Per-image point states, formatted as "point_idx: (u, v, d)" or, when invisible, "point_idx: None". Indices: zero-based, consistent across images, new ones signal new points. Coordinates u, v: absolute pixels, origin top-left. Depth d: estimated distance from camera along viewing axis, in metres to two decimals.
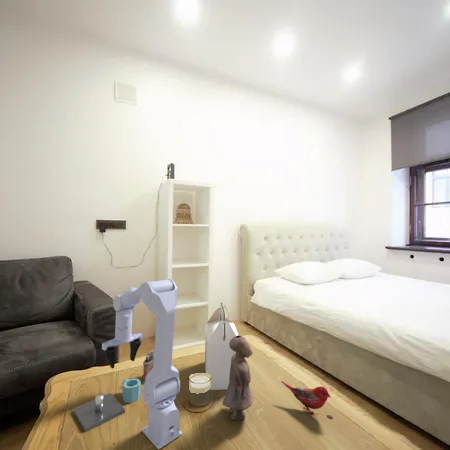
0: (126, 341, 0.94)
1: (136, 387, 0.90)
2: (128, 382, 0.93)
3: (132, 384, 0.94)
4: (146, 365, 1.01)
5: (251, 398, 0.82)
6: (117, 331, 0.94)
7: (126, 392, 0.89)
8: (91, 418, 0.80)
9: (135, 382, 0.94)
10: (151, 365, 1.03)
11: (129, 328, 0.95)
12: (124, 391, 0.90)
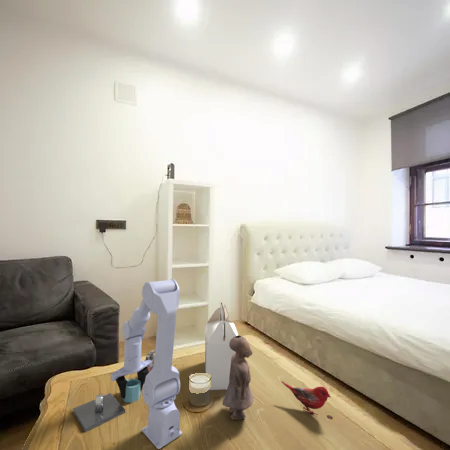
0: (135, 370, 0.90)
1: (136, 387, 0.90)
2: (128, 382, 0.93)
3: (132, 384, 0.94)
4: None
5: (251, 398, 0.82)
6: (126, 360, 0.90)
7: (126, 392, 0.89)
8: (91, 418, 0.80)
9: (135, 382, 0.94)
10: None
11: (139, 356, 0.91)
12: None
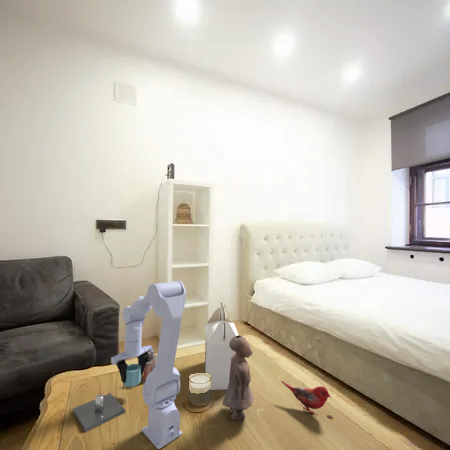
0: (136, 355, 0.90)
1: (137, 371, 0.90)
2: (129, 367, 0.93)
3: (133, 369, 0.94)
4: (146, 365, 1.01)
5: (251, 398, 0.82)
6: (127, 344, 0.90)
7: (127, 376, 0.89)
8: (91, 418, 0.80)
9: (136, 367, 0.94)
10: (151, 365, 1.03)
11: (139, 341, 0.92)
12: None
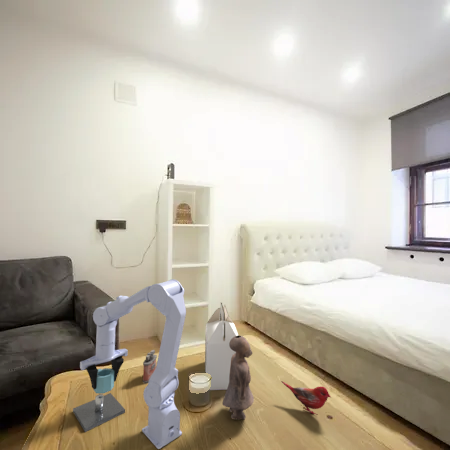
0: (108, 359, 0.83)
1: (108, 377, 0.84)
2: (101, 372, 0.87)
3: (105, 374, 0.87)
4: (146, 365, 1.01)
5: (251, 398, 0.82)
6: (98, 348, 0.83)
7: (97, 382, 0.83)
8: (91, 418, 0.80)
9: (109, 372, 0.87)
10: (151, 365, 1.03)
11: (112, 344, 0.85)
12: None
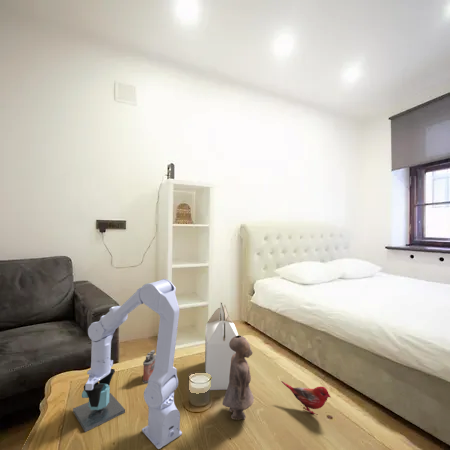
0: (109, 371, 0.84)
1: (108, 389, 0.85)
2: None
3: None
4: (146, 365, 1.01)
5: (251, 398, 0.82)
6: (99, 364, 0.82)
7: None
8: (91, 418, 0.80)
9: None
10: (151, 365, 1.03)
11: None
12: None
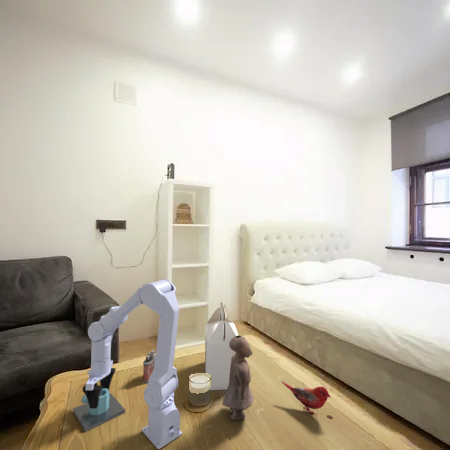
0: (109, 372, 0.84)
1: (108, 394, 0.85)
2: None
3: None
4: (146, 365, 1.01)
5: (251, 398, 0.82)
6: (99, 364, 0.82)
7: (99, 403, 0.82)
8: (91, 418, 0.80)
9: None
10: (151, 365, 1.03)
11: None
12: None
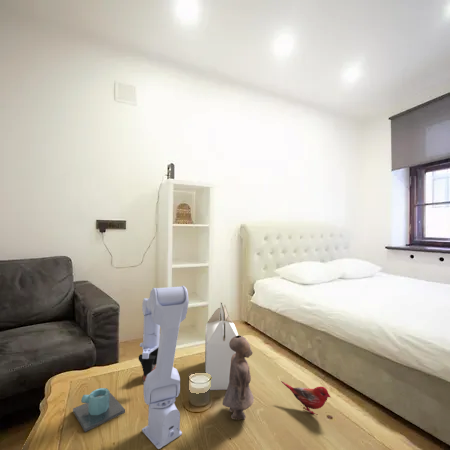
0: (159, 344, 0.93)
1: (108, 394, 0.85)
2: (92, 395, 0.84)
3: (95, 396, 0.85)
4: None
5: (251, 398, 0.82)
6: (152, 337, 0.91)
7: (99, 403, 0.82)
8: (91, 418, 0.80)
9: (99, 392, 0.86)
10: None
11: (159, 331, 0.95)
12: (96, 404, 0.81)
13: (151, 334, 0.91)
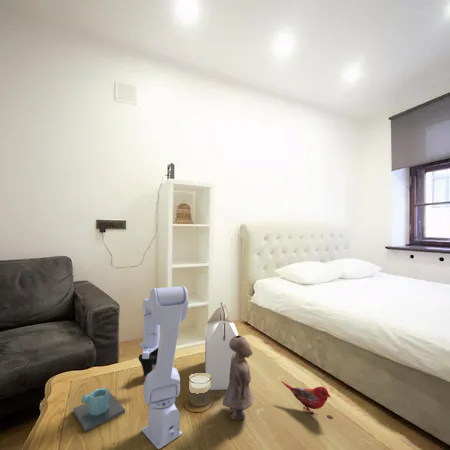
0: None
1: (108, 394, 0.85)
2: (92, 395, 0.84)
3: (95, 396, 0.85)
4: None
5: (251, 398, 0.82)
6: (152, 337, 0.91)
7: (99, 403, 0.82)
8: (91, 418, 0.80)
9: (99, 392, 0.86)
10: None
11: (159, 331, 0.95)
12: (96, 404, 0.81)
13: (151, 334, 0.91)
